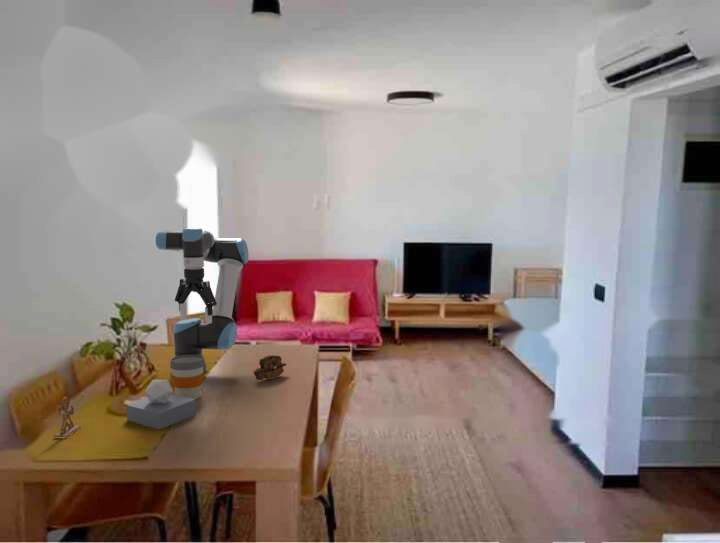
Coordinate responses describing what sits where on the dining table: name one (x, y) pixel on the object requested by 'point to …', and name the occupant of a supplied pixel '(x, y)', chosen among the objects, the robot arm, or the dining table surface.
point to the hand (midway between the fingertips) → (196, 321)
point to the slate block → (161, 411)
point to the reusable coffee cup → (187, 375)
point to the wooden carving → (269, 368)
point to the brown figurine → (71, 427)
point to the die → (159, 391)
